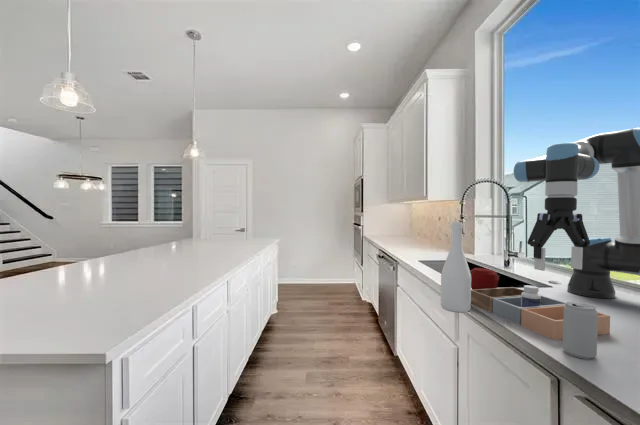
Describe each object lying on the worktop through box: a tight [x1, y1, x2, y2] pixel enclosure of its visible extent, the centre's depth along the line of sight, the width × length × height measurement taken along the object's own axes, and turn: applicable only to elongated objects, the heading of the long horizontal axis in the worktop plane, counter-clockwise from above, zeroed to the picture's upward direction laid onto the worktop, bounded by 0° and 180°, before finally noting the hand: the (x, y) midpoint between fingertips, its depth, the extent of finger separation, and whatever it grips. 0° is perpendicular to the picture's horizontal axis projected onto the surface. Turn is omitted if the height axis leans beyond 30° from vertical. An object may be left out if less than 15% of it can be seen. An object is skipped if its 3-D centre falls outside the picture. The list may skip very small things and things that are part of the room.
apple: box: [470, 266, 500, 290], centre depth 127 cm, size 11×11×12 cm
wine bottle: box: [440, 221, 472, 314], centre depth 110 cm, size 10×10×30 cm
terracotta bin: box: [520, 305, 611, 341], centre depth 92 cm, size 20×11×5 cm, turn 105°
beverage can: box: [562, 301, 598, 360], centre depth 77 cm, size 6×6×12 cm
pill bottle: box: [521, 284, 541, 307], centre depth 103 cm, size 5×5×10 cm
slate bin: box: [492, 294, 566, 326], centre depth 103 cm, size 20×11×5 cm, turn 105°
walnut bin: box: [471, 286, 524, 314], centre depth 114 cm, size 20×11×5 cm, turn 105°
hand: (558, 269), depth 94 cm, fingers open, 13 cm apart
